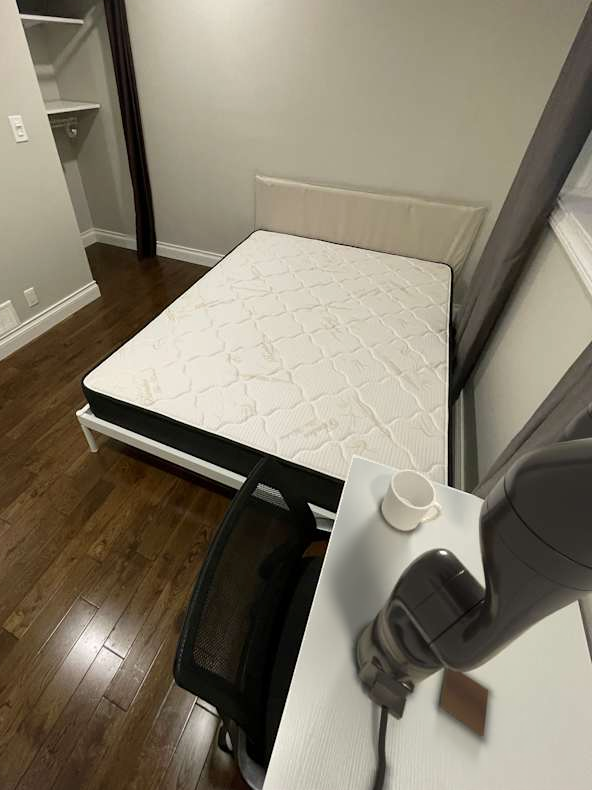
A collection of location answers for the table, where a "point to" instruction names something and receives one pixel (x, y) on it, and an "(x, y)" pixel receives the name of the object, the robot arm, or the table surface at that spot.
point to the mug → (409, 500)
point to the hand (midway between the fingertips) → (535, 505)
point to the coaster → (465, 700)
